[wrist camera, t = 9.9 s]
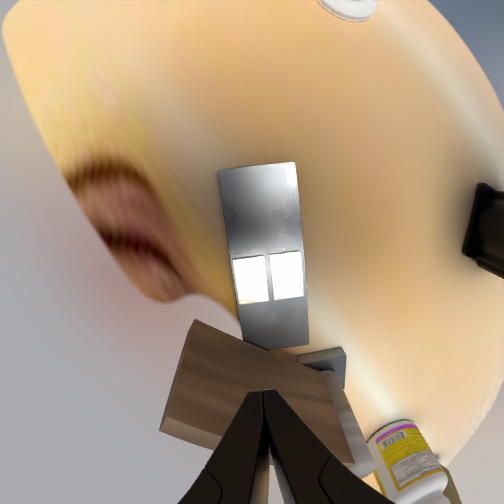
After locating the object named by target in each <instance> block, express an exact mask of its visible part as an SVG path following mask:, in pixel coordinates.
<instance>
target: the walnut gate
mask: <svg viewBox="0 0 504 504" xmlns="http://www.w3.org/2000/svg"><path fill="white" fill-rule="evenodd" d="M271 388H275V389H277V390H278V392H279V393H280V394H281V395H282V396H283V397H284V399H285V400H286V401H287V402H288V403H289V405H290V406H291V407H292V408H293V409H294V410H295V412H296V413H297V414H298V415H299V416H300V417H301V418H302V420H303V421H304V422H305V423H306V424H307V425H308V426H309V427H310V429H311V430H312V431H313V432H314V433H315V434H316V435H317V436H318V437H319V439H320V440H321V441H322V442H323V443H324V444H325V445H326V446H327V447H328V448H329V449H330V451H331V452H332V454H334V455H335V456H336V457H337V458H338V459H339V460H340V461H341V462H342V463H343V464H344V465H345V466H346V467H347V468H348V469H349V470H350V471H351V472H353V473H354V474H355V475H356V476H358V477H359V478H360V479H362V478H364V477H366V476H368V475H370V474H371V473H372V472H373V471H374V470H375V468H376V465H375V462H374V460H373V458H372V455H371V453H370V450H369V448H368V446H367V443H366V441H365V439H364V436H363V434H362V432H361V429H360V427H359V425H358V422H357V420H356V418H355V416H354V413H353V411H352V409H351V406H350V404H349V402H348V400H347V397H346V395H345V393H344V391H343V388H342V386H341V384H340V382H339V379H338V377H337V375H336V373H335V372H334V371H331V370H324V371H318V370H315V369H313V368H310V367H307V366H305V365H302V364H299V363H297V362H294V361H291V360H289V359H286V358H284V357H281V356H279V355H276V354H274V353H271V352H269V351H266V350H264V349H262V348H259V347H257V346H254V345H252V344H250V343H247V342H245V341H243V340H240V339H238V338H236V337H233V336H231V335H229V334H226V333H224V332H222V331H220V330H218V329H216V328H213V327H211V326H209V325H207V324H205V323H203V322H201V321H198V320H196V319H195V320H194V322H193V323H192V325H191V327H190V329H189V331H188V334H187V337H186V340H185V343H184V347H183V350H182V353H181V356H180V360H179V363H178V366H177V370H176V373H175V376H174V380H173V383H172V386H171V390H170V394H169V397H168V401H167V404H166V407H165V411H164V415H163V418H162V422H161V425H160V429H159V431H161V432H163V433H166V434H168V435H171V436H173V437H176V438H179V439H182V440H184V441H187V442H190V443H192V444H195V445H198V446H201V447H205V448H208V449H211V450H215V449H216V447H217V445H218V444H219V442H220V440H221V439H222V437H223V435H224V434H225V432H226V430H227V428H228V427H229V425H230V423H231V421H232V420H233V418H234V416H235V414H236V413H237V411H238V409H239V407H240V406H241V404H242V402H243V400H244V398H245V397H246V395H247V393H248V392H249V391H255V390H261V391H263V390H264V389H271ZM269 451H270V448H269ZM270 465H273V462H272V458H271V454H270Z"/></svg>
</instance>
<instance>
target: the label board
mask: <svg viewBox="0 0 504 504" xmlns="http://www.w3.org/2000/svg"><path fill="white" fill-rule="evenodd" d="M218 175H219V182H220V190H221V197H222V204H223V212H224V219H225V226H226V233H227V240H228V247H229V253H230V260H231V267H232V273H233V280H234V286H235V293H236V299H237V306H238V312H239V318H240V324H241V330H242V337H243V341H245V342H247V343H250V344H252V345H254V346H257V347H259V348H262V349H264V350H266V351H267V350H274V349H281V348H288V347H295V346H301V345H307V344H309V330H308V309H307V291H306V276H305V261H304V248H303V236H302V225H301V214H300V204H299V194H298V185H297V176H296V167H295V162H285V163H275V164H266V165H257V166H248V167H240V168H233V169H225V170H218ZM298 363H299V364H302V365H305V366H307V367H310V368H313V369H315V370H318V371H324V370H331V371H334V372H335V373H336V375H337V377H338V379H339V382H340V384H341V386H342V388H343V389H344V385H345V370H346V354H345V352H344V350H343V348H342V347H340V348H335V349H330V350H325V351H320V352H314V353H308V354H302V355H298Z"/></svg>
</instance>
